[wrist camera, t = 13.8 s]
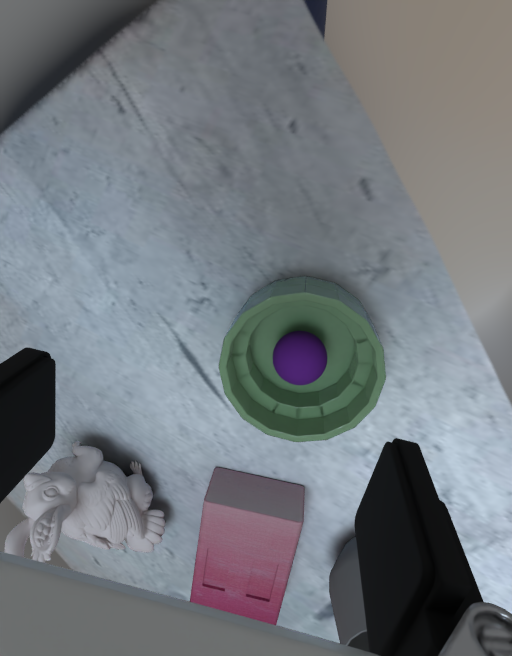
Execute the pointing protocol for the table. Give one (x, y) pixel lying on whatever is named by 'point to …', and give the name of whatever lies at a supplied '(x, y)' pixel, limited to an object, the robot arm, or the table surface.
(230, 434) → the table surface
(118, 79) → the table surface
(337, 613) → the cup
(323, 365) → the ball
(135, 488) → the figurine
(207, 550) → the popsicle
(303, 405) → the green bowl
